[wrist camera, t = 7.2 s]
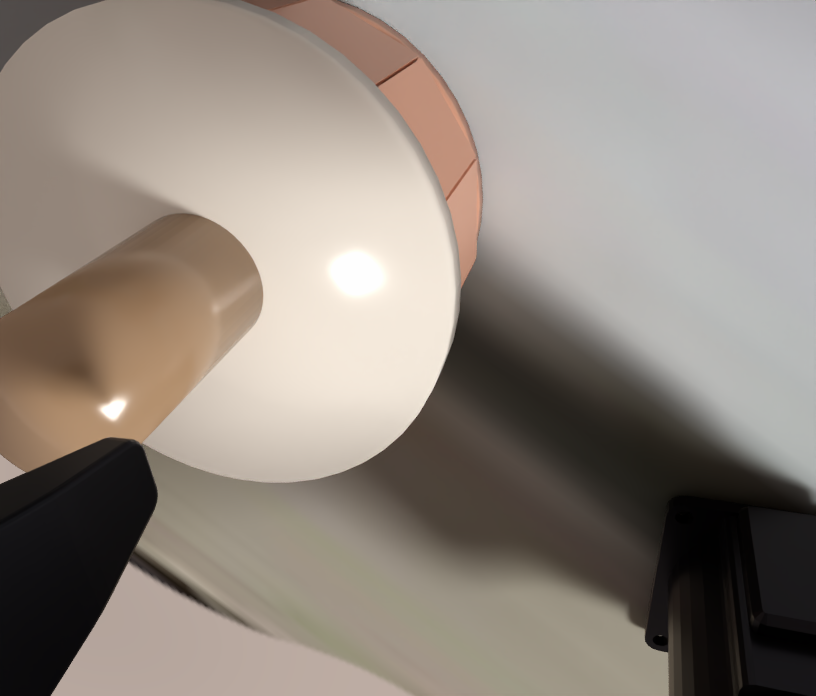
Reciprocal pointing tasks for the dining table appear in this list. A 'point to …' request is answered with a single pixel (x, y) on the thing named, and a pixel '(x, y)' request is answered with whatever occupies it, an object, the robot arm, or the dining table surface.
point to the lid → (213, 245)
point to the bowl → (405, 102)
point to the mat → (29, 20)
